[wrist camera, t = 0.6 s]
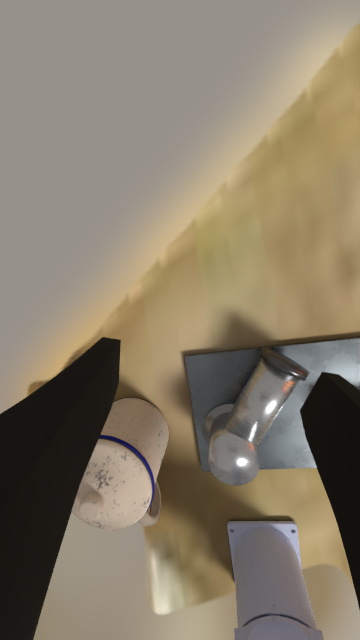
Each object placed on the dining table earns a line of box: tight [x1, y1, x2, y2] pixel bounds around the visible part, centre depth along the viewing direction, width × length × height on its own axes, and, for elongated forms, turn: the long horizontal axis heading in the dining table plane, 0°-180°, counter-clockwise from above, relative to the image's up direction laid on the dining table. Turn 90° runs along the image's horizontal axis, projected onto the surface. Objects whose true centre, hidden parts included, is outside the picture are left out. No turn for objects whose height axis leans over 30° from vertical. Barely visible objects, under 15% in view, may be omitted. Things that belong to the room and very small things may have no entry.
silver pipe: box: [209, 347, 310, 485], centre depth 26 cm, size 13×5×5 cm, turn 154°
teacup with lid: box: [71, 398, 169, 530], centre depth 27 cm, size 12×9×12 cm
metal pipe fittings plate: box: [185, 337, 360, 471], centre depth 26 cm, size 25×14×6 cm, turn 99°
